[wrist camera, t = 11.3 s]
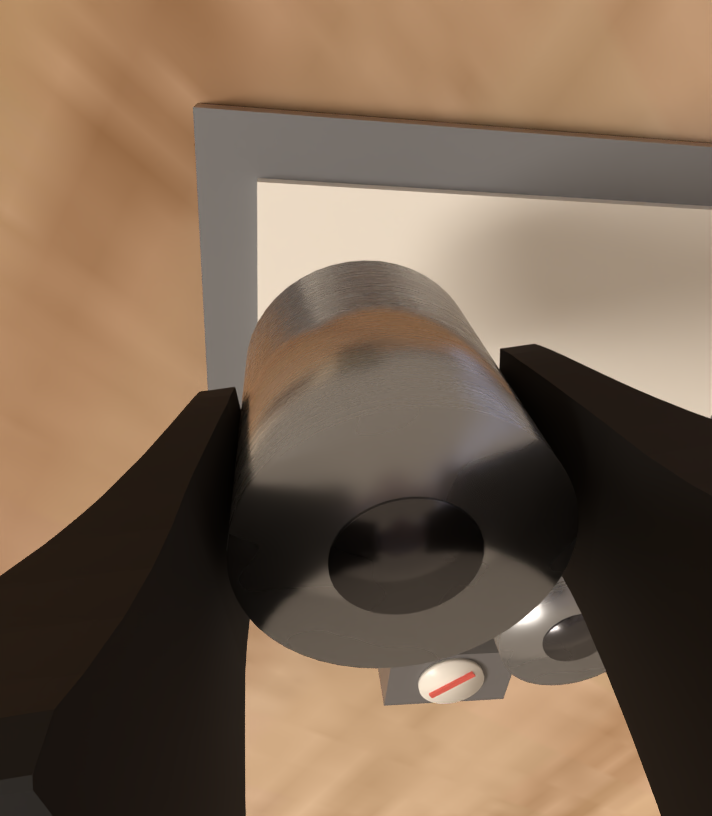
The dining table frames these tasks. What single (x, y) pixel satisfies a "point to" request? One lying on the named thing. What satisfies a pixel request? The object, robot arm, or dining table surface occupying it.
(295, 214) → the kitchen scale
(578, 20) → the dining table surface
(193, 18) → the dining table surface
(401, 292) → the steel spacer
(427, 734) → the dining table surface
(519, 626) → the steel spacer
